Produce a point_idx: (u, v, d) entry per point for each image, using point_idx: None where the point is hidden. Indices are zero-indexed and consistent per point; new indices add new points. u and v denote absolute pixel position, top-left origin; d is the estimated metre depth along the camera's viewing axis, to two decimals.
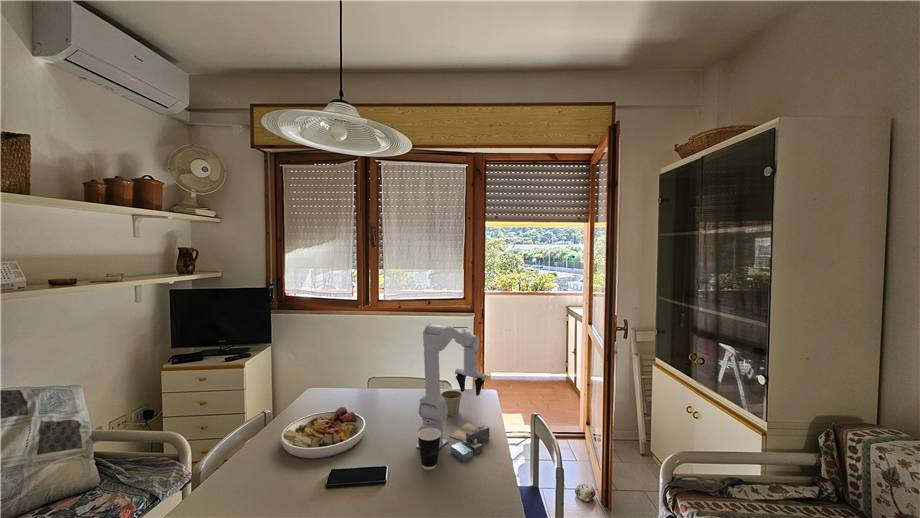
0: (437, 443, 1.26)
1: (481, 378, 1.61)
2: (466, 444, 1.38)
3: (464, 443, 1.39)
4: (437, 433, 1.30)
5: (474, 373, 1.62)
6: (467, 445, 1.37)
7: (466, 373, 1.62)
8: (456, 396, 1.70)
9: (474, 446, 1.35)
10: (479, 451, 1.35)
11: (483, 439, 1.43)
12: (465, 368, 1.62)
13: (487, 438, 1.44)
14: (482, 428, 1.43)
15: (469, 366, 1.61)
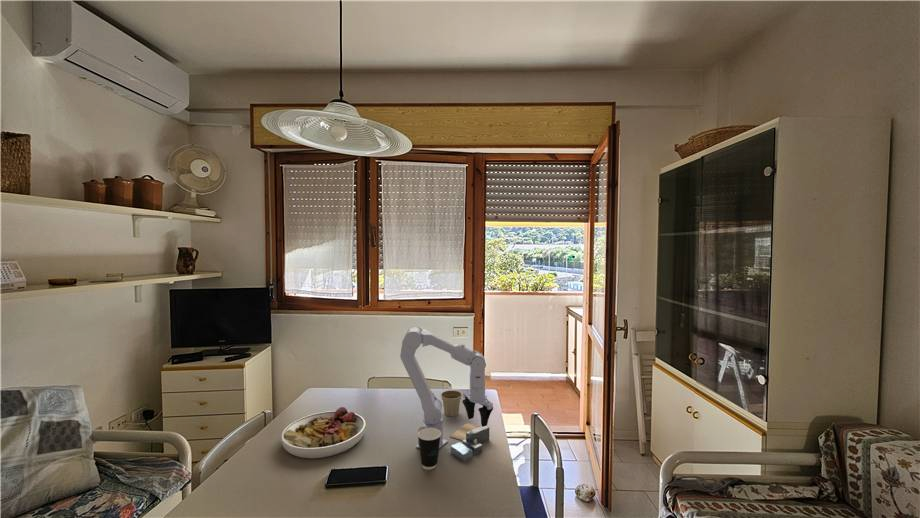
0: (437, 443, 1.26)
1: (487, 407, 1.37)
2: (466, 444, 1.38)
3: (464, 443, 1.39)
4: (437, 433, 1.30)
5: (480, 400, 1.39)
6: (467, 445, 1.37)
7: (471, 399, 1.40)
8: (456, 396, 1.70)
9: (474, 446, 1.35)
10: (479, 451, 1.35)
11: (483, 439, 1.43)
12: (470, 393, 1.41)
13: (487, 438, 1.44)
14: (482, 428, 1.43)
15: (474, 391, 1.39)
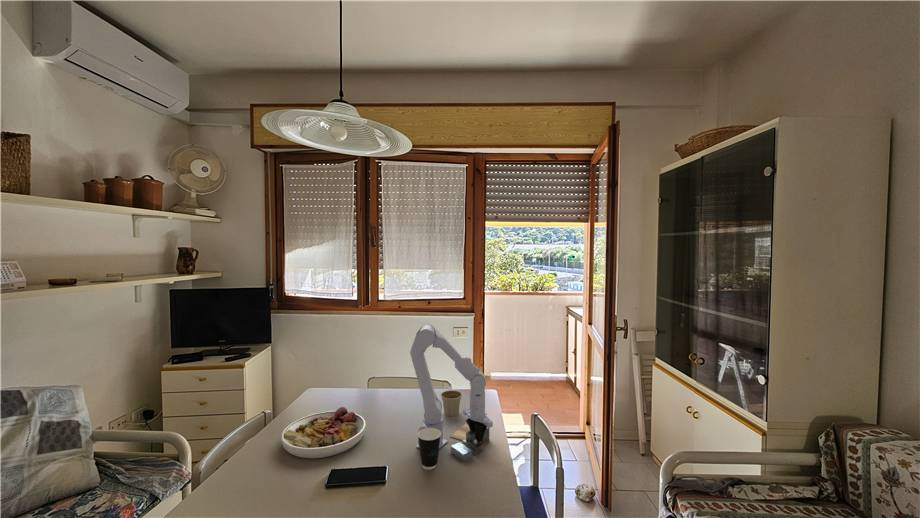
0: (437, 443, 1.26)
1: (486, 425, 1.37)
2: (466, 444, 1.38)
3: (464, 443, 1.39)
4: (437, 433, 1.30)
5: (480, 418, 1.39)
6: (467, 445, 1.37)
7: (471, 416, 1.40)
8: (456, 396, 1.70)
9: (474, 446, 1.35)
10: (479, 451, 1.35)
11: (483, 439, 1.43)
12: (470, 410, 1.41)
13: (487, 438, 1.44)
14: None
15: (474, 409, 1.39)
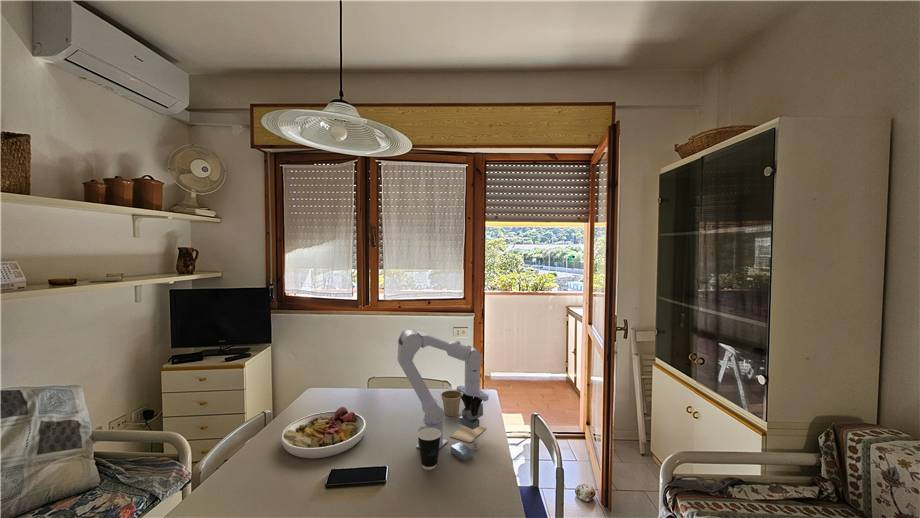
0: (437, 443, 1.26)
1: (483, 399, 1.42)
2: (463, 420, 1.41)
3: (461, 419, 1.42)
4: (437, 433, 1.30)
5: (475, 392, 1.44)
6: (464, 421, 1.41)
7: (466, 392, 1.44)
8: (456, 396, 1.70)
9: (472, 421, 1.40)
10: (477, 425, 1.40)
11: (478, 414, 1.47)
12: (465, 386, 1.45)
13: (481, 413, 1.49)
14: None
15: (469, 384, 1.43)
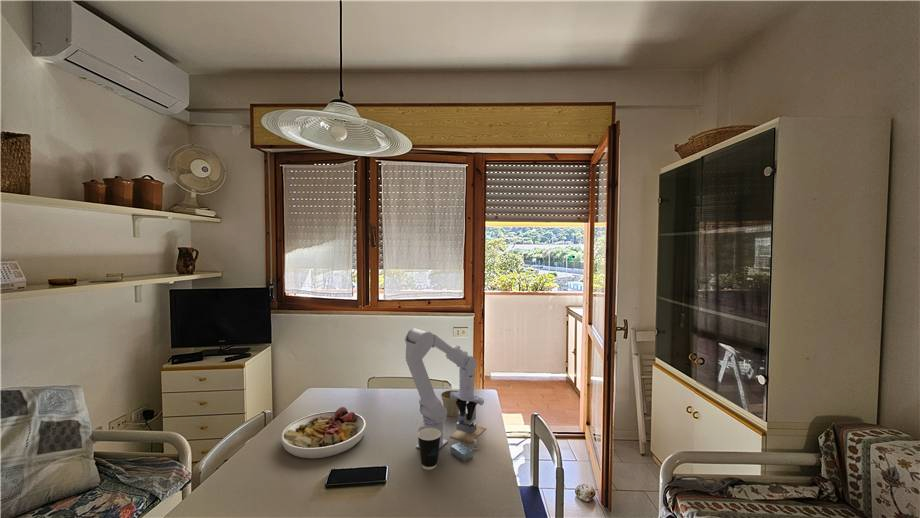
0: (437, 443, 1.26)
1: (478, 403, 1.48)
2: (461, 426, 1.46)
3: (458, 425, 1.47)
4: (437, 433, 1.30)
5: (471, 397, 1.49)
6: (462, 426, 1.46)
7: (462, 397, 1.49)
8: None
9: (470, 426, 1.45)
10: (474, 429, 1.46)
11: (472, 418, 1.53)
12: (461, 392, 1.49)
13: (474, 417, 1.55)
14: None
15: (465, 390, 1.48)
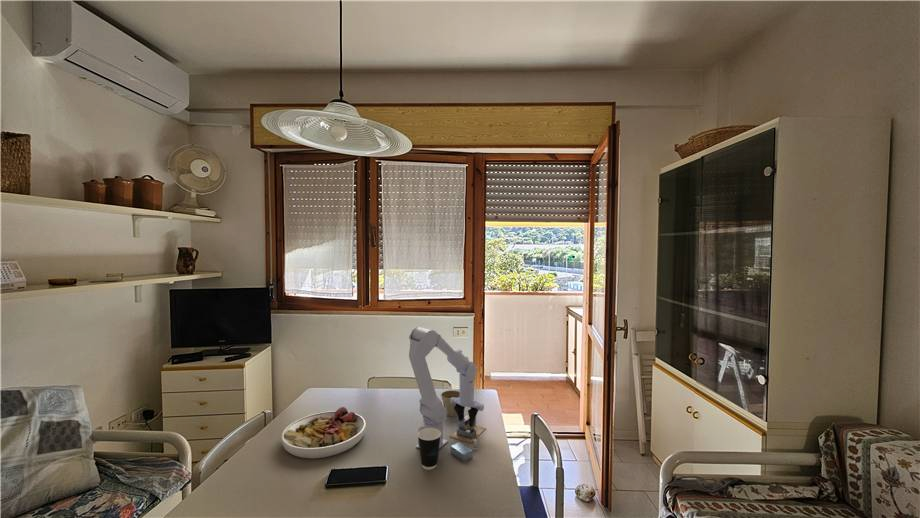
0: (437, 443, 1.26)
1: (478, 409, 1.48)
2: (461, 431, 1.46)
3: (458, 431, 1.47)
4: (437, 433, 1.30)
5: (471, 403, 1.49)
6: (462, 432, 1.46)
7: (462, 403, 1.49)
8: (456, 396, 1.70)
9: (470, 431, 1.45)
10: (474, 435, 1.46)
11: None
12: (461, 398, 1.50)
13: (474, 423, 1.55)
14: None
15: (465, 396, 1.49)
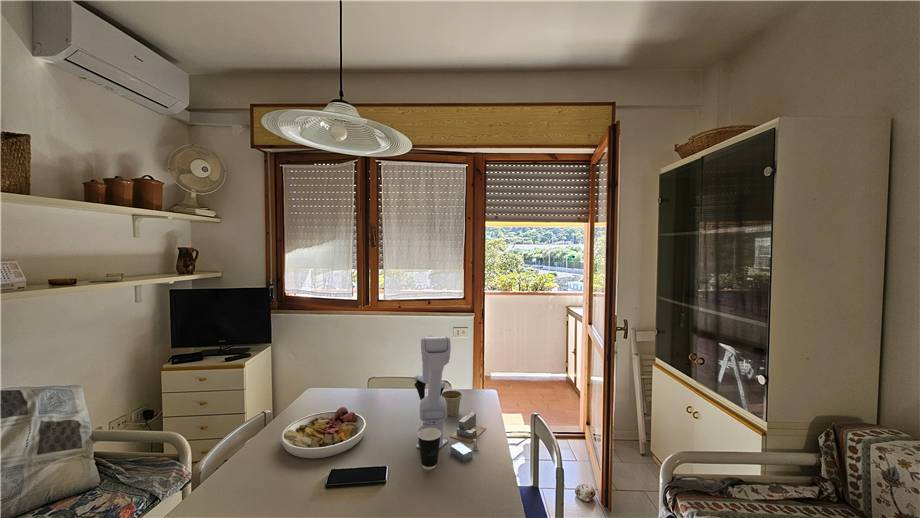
0: (437, 443, 1.26)
1: None
2: (461, 431, 1.46)
3: (458, 431, 1.47)
4: (437, 433, 1.30)
5: None
6: (462, 432, 1.46)
7: (424, 380, 1.53)
8: (456, 396, 1.70)
9: (470, 431, 1.45)
10: (474, 435, 1.46)
11: (472, 425, 1.53)
12: (423, 375, 1.54)
13: (474, 423, 1.55)
14: (470, 415, 1.54)
15: (427, 373, 1.53)
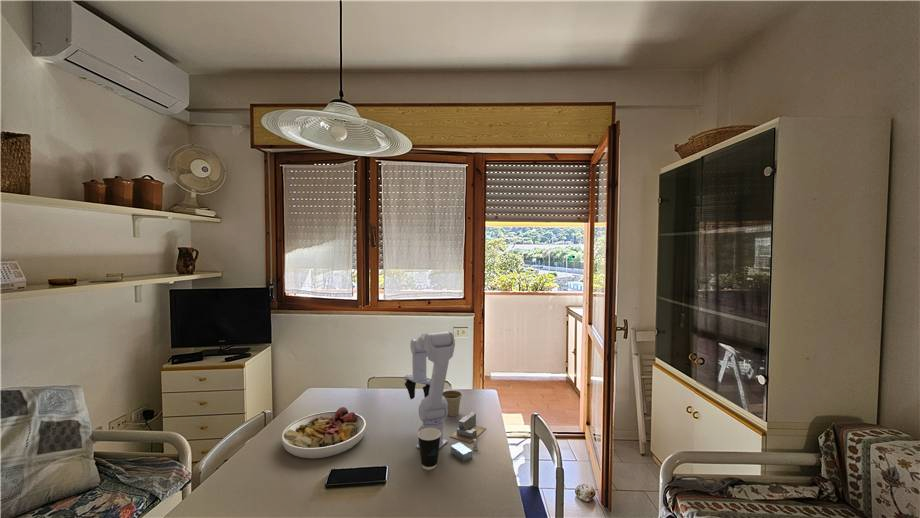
0: (437, 443, 1.26)
1: (430, 385, 1.54)
2: (461, 431, 1.46)
3: (458, 431, 1.47)
4: (437, 433, 1.30)
5: (423, 379, 1.55)
6: (462, 432, 1.46)
7: (414, 380, 1.55)
8: (456, 396, 1.70)
9: (470, 431, 1.45)
10: (474, 435, 1.46)
11: (472, 425, 1.53)
12: (413, 374, 1.55)
13: (474, 423, 1.55)
14: (470, 415, 1.54)
15: (417, 372, 1.54)
